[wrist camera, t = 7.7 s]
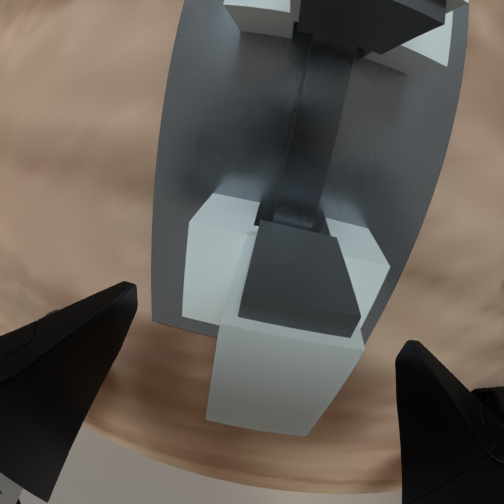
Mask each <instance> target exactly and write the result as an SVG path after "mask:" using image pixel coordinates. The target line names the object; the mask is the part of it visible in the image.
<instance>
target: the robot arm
mask: <svg viewBox="0 0 504 504" xmlns="http://www.w3.org/2000/svg"><path fill="white" fill-rule="evenodd" d="M137 306H138V302H137V287H136V285H135V284H133V283H130V282H126V281H123V282H121V283H118V284H116V285H114V286H112V287H109V288H107V289H105V290H103V291H100V292H98V293H96V294H94V295H91V296H89V297H87V298H85V299H82V300H80V301H78V302H76V303H74V304H71V305H69V306H67V307H65V308H63V309H60V310H58V311H56V312H54V313H52V314H50V315H47V316H45V317H43V318H41V319H39V320H38V321H34V322H32V323H30V324H28V325H26V326H23V327H21V328H19V329H17V330H14V331H12V332H9V333H7V334H4V335H2V336H0V504H21V503H20V501H19V496H20V493H21V491H22V489H23V488H24V489H25V490H27V491H28V492H30V493H32V494H33V495H35V496H37V497H38V498H40V499H42V500H44V501H45V502H48V501H49V499H50V496H51V494H52V491H53V489H54V486H55V484H56V482H57V479H58V477H59V474H60V472H61V470H62V467H63V465H64V463H65V460H66V458H67V456H68V453H69V451H70V449H71V446H72V444H73V442H74V440H75V438H76V436H77V434H78V431H79V429H80V427H81V425H82V423H83V421H84V419H85V417H86V415H87V413H88V411H89V409H90V407H91V405H92V403H93V401H94V399H95V397H96V395H97V393H98V391H99V389H100V387H101V385H102V383H103V381H104V379H105V377H106V375H107V374H108V372H109V370H110V368H111V366H112V364H113V362H114V360H115V359H116V357H117V355H118V353H119V351H120V349H121V347H122V345H123V342H124V340H125V337H126V335H127V332H128V330H129V328H130V325H131V323H132V320H133V318H134V316H135V313H136V311H137ZM395 369H396V400H397V411H398V420H399V432H400V445H401V464H402V504H504V387H497V388H484V389H477V390H475V391H474V392H473V393H471V392H470V391H469V390H468V389H467V388H466V387H465V386H464V385H463V384H462V383H461V382H460V381H459V380H458V379H457V378H456V377H455V376H454V375H453V374H452V373H451V372H450V371H449V370H448V369H447V368H446V367H445V366H444V365H443V364H442V363H441V362H440V361H439V360H438V359H437V358H436V357H435V356H434V355H433V354H432V353H431V352H430V351H429V350H428V349H426V348H425V347H424V346H423V345H422V344H421V343H420V342H419V341H414V340H408V341H407V342H406V343H405V345H404V346H403V348H402V349H401V351H400V352H399V354H398V355H397V357H396V361H395Z"/></svg>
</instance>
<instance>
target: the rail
mask: <svg viewBox="0 0 504 504" xmlns="http://www.w3.org/2000/svg"><path fill="white" fill-rule="evenodd" d="M223 3H224V0H185V1H184V5H183V9H182V13H181V17H180V21H179V25H178V30H177V34H176V39H175V43H174V48H173V53H172V58H171V63H170V68H169V74H168V80H167V85H166V92H165V98H164V105H163V112H162V119H161V126H160V135H159V143H158V153H157V163H156V174H155V187H154V202H153V221H152V255H151V293H152V321H156V322H159V323H163V324H166V325H170V326H173V327H177V328H181V329H185V330H188V331H192V332H196V333H200V334H204V335H208V336H212V337H217V338H218V332H219V326H220V325H215V324H211V323H207V322H203V321H199V320H195V319H191V318H187V317H183V316H182V306H183V289H184V275H185V262H186V250H187V239H188V229H189V221H190V220H191V219H192V218H193V217H194V215H195V214H196V213H197V212H198V210H199V209H200V208H201V207H202V206H203V204H204V203H205V202H206V201H207V200H208V198H209V197H210V196H211V195H212V194H213V193H215V194H220V195H225V196H230V197H235V198H240V199H245V200H250V201H255V202H259V203H260V205H259V210H258V214H257V219H256V224H255V226H259V223H260V220H263V221H268V222H272V223H277V224H281V225H286V226H290V227H295V228H299V229H303V230H308V231H312V232H316V233H321V230H322V227H323V223H324V220H325V218H329V219H333V220H337V221H341V222H345V223H349V224H352V225H356V226H360V227H364V228H368V229H369V231H370V232H371V234H372V236H373V237H374V239H375V241H376V243H377V244H378V246H379V248H380V249H381V251H382V253H383V255H384V256H385V258H386V260H387V262H388V264H389V265H390V268H389V271H388V273H387V275H386V277H385V280H384V282H383V284H382V286H381V288H380V290H379V293H378V295H377V297H376V299H375V301H374V303H373V305H372V307H371V309H370V311H369V313H368V315H367V317H366V319H365V321H364V323H363V325H362V327H361V329H360V330H361V334H362V338H363V342H364V345H365V343H366V341H367V340H368V338H369V336H370V334H371V332H372V331H373V329H374V327H375V325H376V323H377V322H378V320H379V318H380V316H381V314H382V312H383V310H384V308H385V306H386V304H387V302H388V300H389V298H390V296H391V294H392V292H393V290H394V288H395V286H396V284H397V282H398V280H399V278H400V276H401V273H402V271H403V269H404V267H405V265H406V262H407V260H408V258H409V255H410V253H411V251H412V248H413V246H414V244H415V241H416V239H417V236H418V234H419V231H420V229H421V226H422V224H423V221H424V218H425V216H426V213H427V210H428V207H429V205H430V202H431V199H432V196H433V193H434V190H435V187H436V184H437V181H438V178H439V175H440V171H441V168H442V165H443V161H444V158H445V154H446V151H447V147H448V143H449V139H450V135H451V131H452V127H453V123H454V118H455V114H456V109H457V104H458V99H459V93H460V88H461V82H462V75H463V69H464V61H465V53H466V43H467V30H468V10H469V4H466V5H464V6H462V7H460V8H457V9H455V10H453V19H452V31H451V41H450V50H449V57H448V64H447V67H445V68H439V69H434V70H429V71H424V72H419V73H414V74H410V75H408V74H405V73H403V72H400V71H398V70H395V69H393V68H390V67H388V66H385V65H382V64H380V63H377V62H374V61H371V60H368V59H365V58H363V54H364V49H363V48H360V47H357V46H353V45H350V44H347V43H344V42H340V41H337V40H333V39H329V38H325V37H321V36H317V35H313V34H309V33H304V32H299V31H297V29H298V22H296V23H295V27H294V32H293V37H292V39H289V38H284V37H279V36H273V35H267V34H260V33H252V32H244V31H240V29H239V28H238V26H237V25H236V23H235V22H234V20H233V19H232V17H231V15H230V14H229V12H228V11H227V9H226V8H225V6H224V5H223Z"/></svg>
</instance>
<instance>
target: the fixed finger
mask: <svg viewBox="0 0 504 504" xmlns="http://www.w3.org/2000/svg"><path fill="white" fill-rule="evenodd" d="M466 4H469V0H224V3H223V5H224V6H225V8H226V9H227V11H228V12H229V14H230V15H231V17H232V19H233V20H234V22H235V23H236V25H237V26H238V28H239V29H240V31H244V32H252V33H260V34H267V35H273V36H279V37H284V38H289V39H292V37H293V32H294V27H295V23H296V22H298V29H297V31H299V32H304V33H309V34H313V35H317V36H321V37H325V38H329V39H333V40H337V41H340V42H344V43H347V44H350V45H353V46H357V47H360V48H363V49H364V54H363V58H365V59H368V60H371V61H374V62H377V63H380V64H382V65H385V66H388V67H390V68H393V69H395V70H398V71H400V72H403V73H405V74H408V75H410V74H414V73H419V72H424V71H429V70H434V69H439V68H445V67H447V64H448V57H449V50H450V41H451V31H452V19H453V10H455V9H457V8H460V7H462V6H464V5H466Z"/></svg>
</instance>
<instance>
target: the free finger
mask: <svg viewBox="0 0 504 504" xmlns="http://www.w3.org/2000/svg"><path fill="white" fill-rule="evenodd" d="M259 205H260V203H259V202H255V201H250V200H245V199H240V198H235V197H230V196H225V195H220V194H215V193H213V194H212V195H211V196H210V197H209V198H208V200H207V201H206V202H205V203H204V204H203V206H202V207H201V208H200V209H199V210H198V212H197V213H196V214H195V215H194V217H193V218H192V219H191V220H190V221H189V229H188V239H187V250H186V262H185V275H184V289H183V306H182V316H183V317H187V318H191V319H195V320H199V321H203V322H207V323H211V324H215V325H220V326H219V332H218V338H217V345H216V351H215V358H214V364H213V371H212V377H211V384H210V391H209V397H208V404H207V411H206V418H205V420H208V421H212V422H217V423H221V424H226V425H231V426H236V427H241V428H247V429H252V430H258V431H265V432H271V433H279V434H286V435H295V436H305V437H306V436H307V434H308V433H309V432H310V430H311V429H312V428H313V427H314V425H315V424H316V423H317V421H318V420H319V419H320V417H321V416H322V415H323V413H324V412H325V410H326V409H327V408H328V406H329V405H330V403H331V402H332V401H333V399H334V398H335V396H336V395H337V393H338V392H339V390H340V389H341V387H342V386H343V384H344V383H345V381H346V380H347V378H348V377H349V375H350V374H351V372H352V371H353V369H354V367H355V366H356V364H357V363H358V361H359V359H360V358H361V356H362V355H363V353H364V351H365V347H364V342H363V338H362V334H361V330H360V329H361V327H362V325H363V323H364V321H365V319H366V317H367V315H368V313H369V311H370V309H371V307H372V305H373V303H374V301H375V299H376V297H377V295H378V293H379V290H380V288H381V286H382V284H383V282H384V280H385V277H386V275H387V273H388V271H389V268H390V265H389V264H388V262H387V260H386V258H385V256H384V255H383V253H382V251H381V249H380V248H379V246H378V244H377V243H376V241H375V239H374V237H373V236H372V234H371V232H370V231H369V229H368V228H364V227H360V226H356V225H352V224H349V223H345V222H341V221H337V220H333V219H329V218H325V220H324V223H323V227H322V230H321V233H316V232H312V231H308V230H303V229H299V228H295V227H290V226H286V225H281V224H277V223H272V222H268V221H263V220H260V223H259V226H255V224H256V219H257V214H258V210H259Z"/></svg>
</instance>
